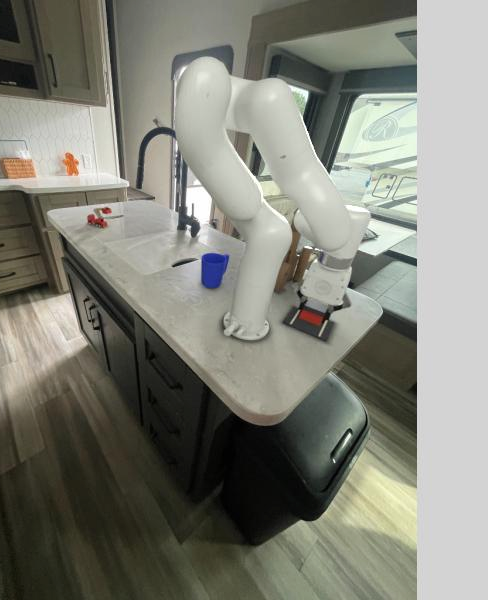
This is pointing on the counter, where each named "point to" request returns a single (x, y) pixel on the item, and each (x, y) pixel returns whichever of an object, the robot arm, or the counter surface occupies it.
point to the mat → (308, 325)
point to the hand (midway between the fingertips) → (312, 315)
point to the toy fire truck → (100, 219)
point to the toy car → (313, 311)
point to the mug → (213, 269)
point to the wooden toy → (293, 262)
